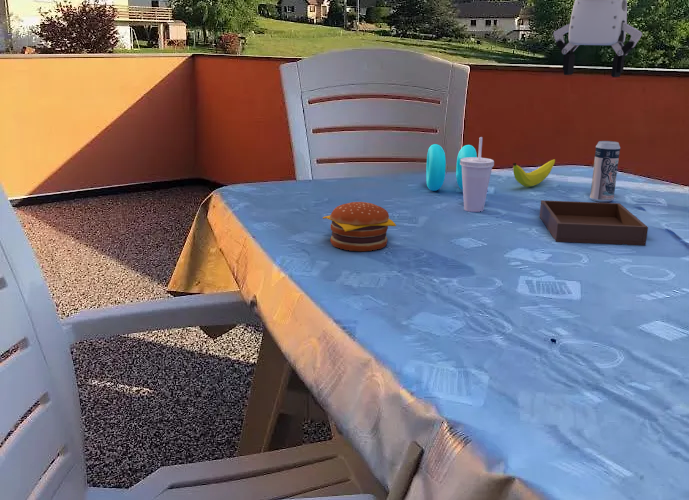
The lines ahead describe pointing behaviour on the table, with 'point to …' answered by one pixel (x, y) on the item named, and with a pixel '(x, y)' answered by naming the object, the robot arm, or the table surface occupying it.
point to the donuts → (444, 165)
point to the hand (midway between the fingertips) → (591, 75)
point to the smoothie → (475, 180)
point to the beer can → (605, 171)
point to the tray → (592, 223)
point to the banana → (532, 174)
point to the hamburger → (359, 226)
